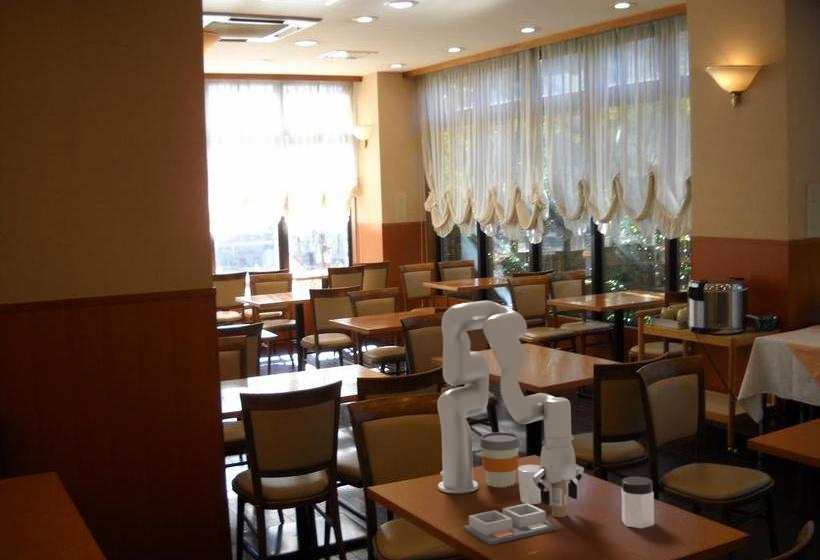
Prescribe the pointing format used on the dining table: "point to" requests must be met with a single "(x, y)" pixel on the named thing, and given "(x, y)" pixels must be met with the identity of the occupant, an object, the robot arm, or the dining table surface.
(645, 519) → the jar
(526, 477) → the white cup
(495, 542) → the socket board
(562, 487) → the sprinkles bottle
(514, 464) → the reusable coffee cup
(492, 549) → the dining table surface
